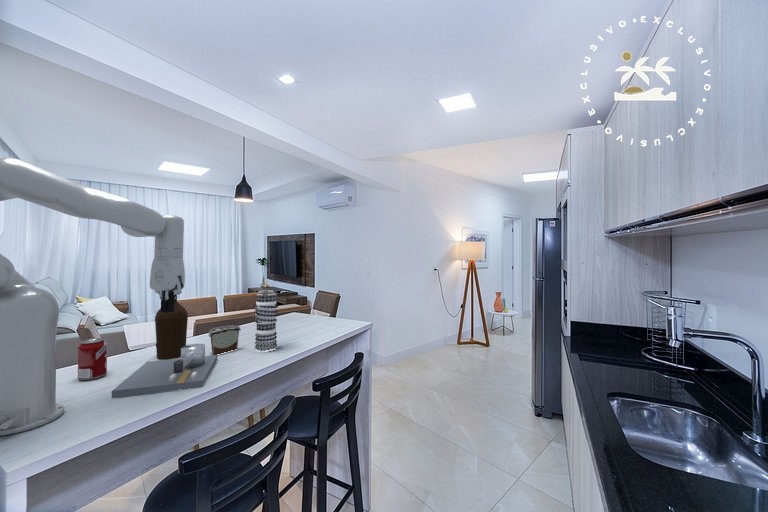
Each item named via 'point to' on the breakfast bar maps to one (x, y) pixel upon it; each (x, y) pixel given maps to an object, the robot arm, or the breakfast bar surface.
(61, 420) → the breakfast bar surface
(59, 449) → the breakfast bar surface
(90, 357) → the soda can
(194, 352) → the metal ladle
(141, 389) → the grey flat square slab
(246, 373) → the breakfast bar surface
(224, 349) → the food container
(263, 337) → the decorative candle
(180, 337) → the olive oil
